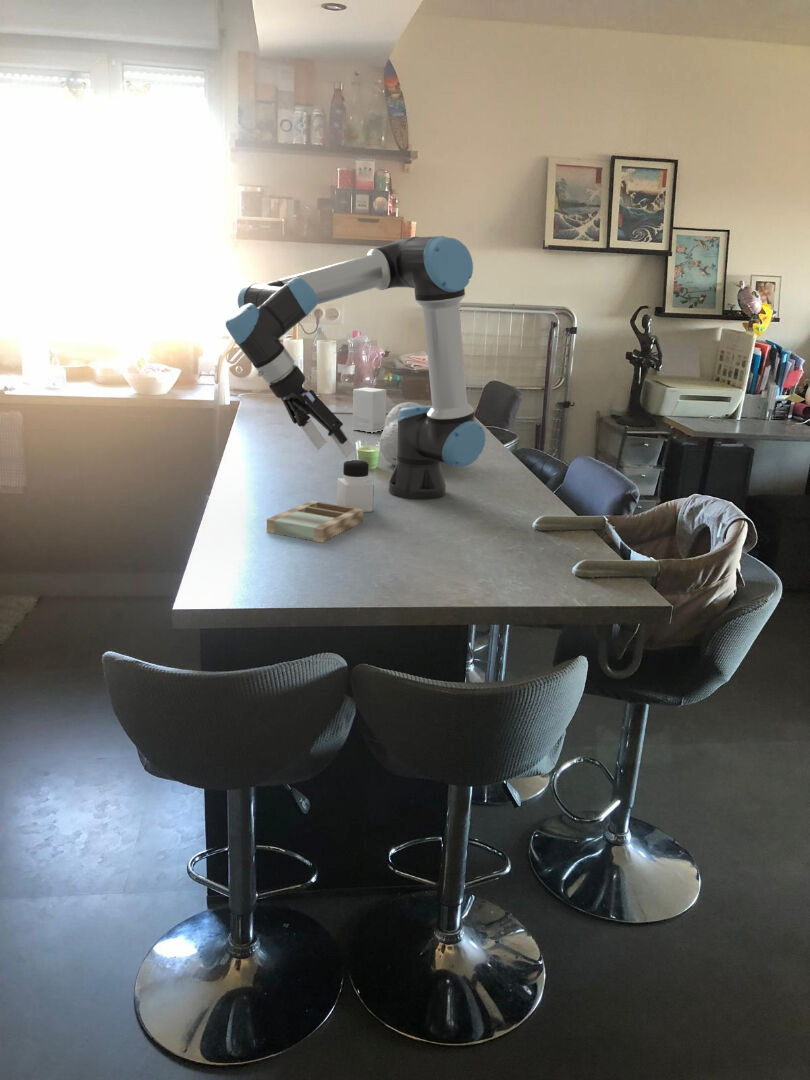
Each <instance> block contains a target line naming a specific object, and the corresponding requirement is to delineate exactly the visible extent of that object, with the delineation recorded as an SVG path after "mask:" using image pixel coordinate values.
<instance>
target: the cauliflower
mask: <svg viewBox="0 0 810 1080" xmlns="http://www.w3.org/2000/svg"><path fill="white" fill-rule="evenodd" d="M408 406H423V405H422V404H420V403H417V402H413V401H406V402H401V403H399V404H398V403H397V405H395V406H394V407H392V408H391V410H390V411H389V412H388V414H386V419H385V426H384V430H383V431H381V432H382V433H381V434H380V439H379V442H378V443H379V449H380V452H381V454H382V455H383V457H384V459H385V460H386V461H387V462H388V463H390V464H391V465H393V466H396V463H397V441H398V418H399V411H400V410H401V408H403V407H408Z"/></svg>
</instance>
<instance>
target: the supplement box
mask: <svg viewBox="0 0 810 1080" xmlns="http://www.w3.org/2000/svg"><path fill="white" fill-rule="evenodd" d="M352 396H353V397H352V399H353V400H352V429H353V428H356V429H362V430H368V431H376V430H382V429H384V426H385V419H386V417H387V410H386V409H387V389H384V388H375V387H361V388H360V387H359V388H354V389H353V390H352Z"/></svg>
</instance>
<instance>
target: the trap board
mask: <svg viewBox="0 0 810 1080" xmlns="http://www.w3.org/2000/svg"><path fill="white" fill-rule="evenodd" d="M361 522H362V523H364V512H363V509H357V508H352V507H346V506H340V505H337V504H332V503H327V502H321V501H316V500H309V501H307V502H304V503H302V504H300V505H297V506H295V507H293V508H292V507H291V508H290V509H288V510H285V511H283V512H280V513H278V514H276V515H274V516H271V517H268V518H266V533H268V534H274V533H275V534H274V535H279V534H281V535H280V536H284V535H287V536H286V537H289V536H292V537H291V538H294V537H296V539H300V538H302V539H301V540H305V539H307V541H310V540H311V541H310V542H315V541H316V542H317V543H320V542H321V543H322V542H323V543H324V542H326V541H328V540H331V539H333V538H334V537H336V536H338V535H340V534H342V533H344V532H346V531H348V530H350V529H352V528H354V527H356V526H358V525H360V524H361ZM359 523H360V524H359ZM357 524H358V525H357ZM355 525H356V526H355ZM353 526H354V527H353ZM351 527H352V528H351ZM349 528H350V529H349ZM347 529H348V530H347ZM345 530H346V531H345ZM343 531H344V532H343ZM341 532H342V533H341ZM339 533H340V534H339ZM337 534H338V535H337ZM335 535H336V536H335ZM333 536H334V537H333ZM316 542H315V543H316Z"/></svg>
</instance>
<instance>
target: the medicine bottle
mask: <svg viewBox="0 0 810 1080" xmlns="http://www.w3.org/2000/svg"><path fill="white" fill-rule="evenodd" d="M342 469H343V474H342V475H343V477H339V478H337V483H336V484H337V485H336V486H337V487H336V488H337V490H336V493H337V494H336V505H340V506H346V507H352V508H357V509H363V513H368V512H369V513H370V512H371V513H372V512H373V511H374V494H375V493H374V491H375V490H374V489H375V484H374V483H373V482H372V481H370V480H369V463H368V462H367V461H365V460H363V459H348V460H346V461H344V462H343V468H342Z"/></svg>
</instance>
